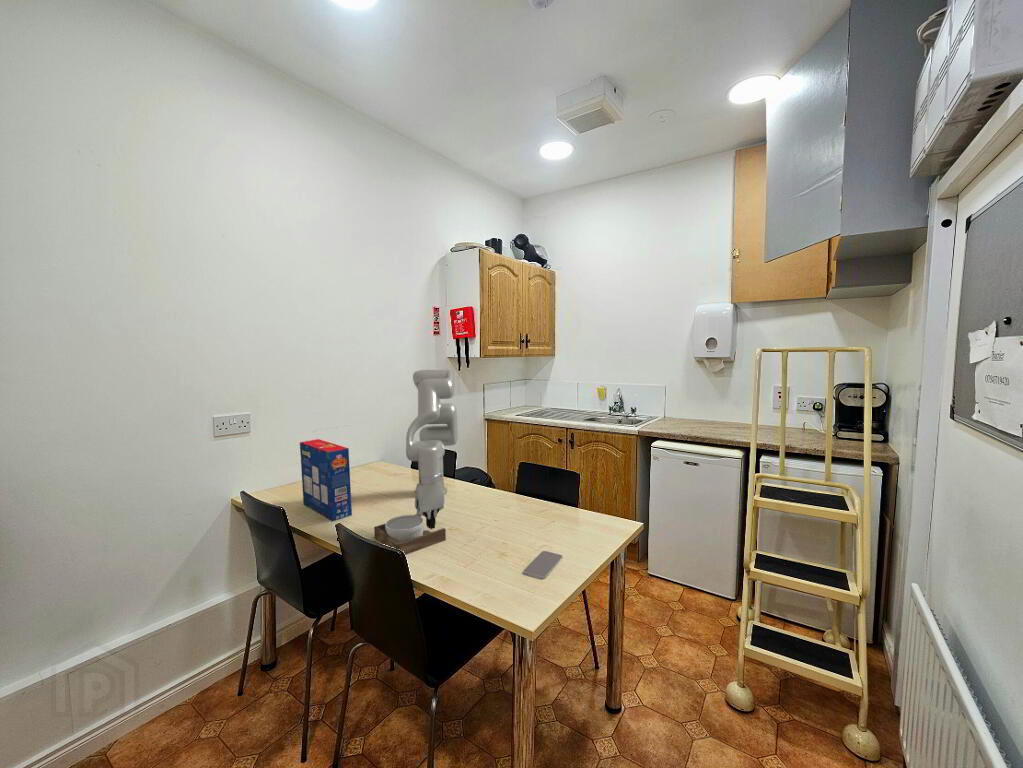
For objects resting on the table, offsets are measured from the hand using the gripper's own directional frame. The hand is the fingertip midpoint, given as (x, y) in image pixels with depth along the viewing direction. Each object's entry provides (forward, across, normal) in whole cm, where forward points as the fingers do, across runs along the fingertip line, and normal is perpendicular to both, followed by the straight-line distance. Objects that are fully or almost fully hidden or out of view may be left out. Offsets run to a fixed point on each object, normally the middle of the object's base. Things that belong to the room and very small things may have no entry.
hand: (431, 527), depth 152 cm
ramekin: (+2, +10, 0) cm, 11 cm away
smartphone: (+2, -14, +44) cm, 47 cm away
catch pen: (+2, +8, 0) cm, 8 cm away
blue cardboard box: (+2, +22, -49) cm, 54 cm away
